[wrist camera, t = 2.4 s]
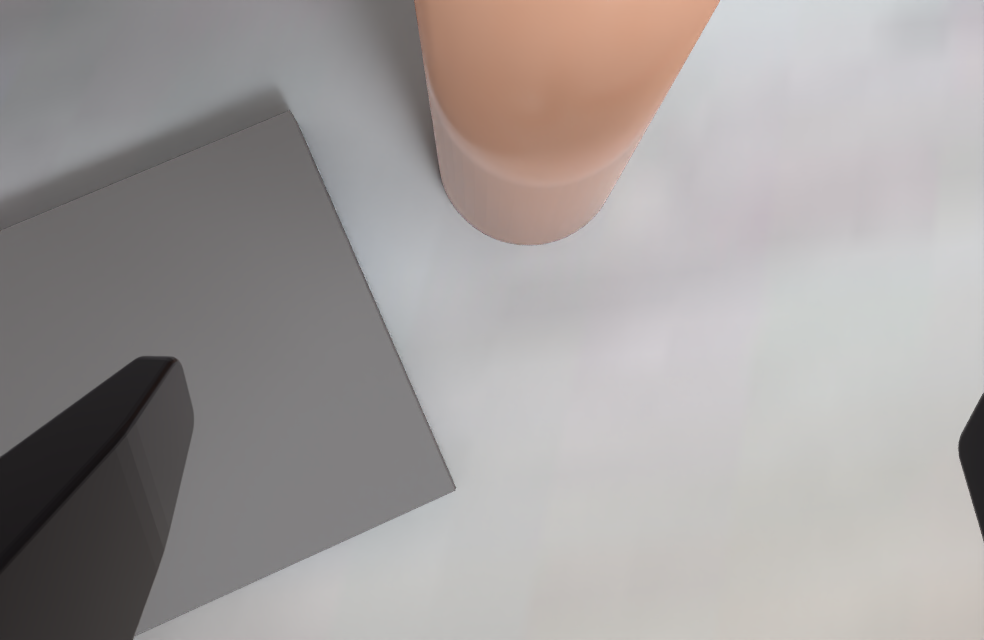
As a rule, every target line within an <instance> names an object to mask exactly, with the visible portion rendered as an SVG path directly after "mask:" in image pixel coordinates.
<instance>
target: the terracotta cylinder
mask: <svg viewBox="0 0 984 640" xmlns="http://www.w3.org/2000/svg"><path fill="white" fill-rule="evenodd" d="M719 2H720V0H414V3H415V9H416V16H417V23H418V29H419V36H420V43H421V50H422V56H423V63H424V70H425V77H426V83H427V90H428V97H429V103H430V110H431V117H432V124H433V130H434V137H435V144H436V151H437V157H438V164H439V171H440V175H441V180H442V183H443V186H444V189H445V191H446V194H447V196H448V197H449V199H450V201H451V203H452V204H453V206H454V207H455V209H456V210H457V211H458V213H459V214H460V215H461V216H462V217H463V218H464V219H465V220H466V221H467V222H468V223H469V224H471V225H472V226H473V227H474V228H476V229H477V230H479V231H481V232H482V233H484V234H485V235H488V236H490V237H492V238H494V239H497V240H500V241H503V242H506V243H512V244H517V245H539V244H546V243H550V242H555V241H557V240H560V239H563V238H565V237H567V236H569V235H571V234H573V233H575V232H577V231H578V230H579V229H581V228H582V227H584V226H585V225H586V224H587V223H588V222H589V221H591V220H592V219H593V218H594V217H595V215H596V214H597V213H598V212H599V211H600V209H601V208H602V206H603V205H604V203H605V202H606V200H607V198H608V196H609V195H610V193H611V191H612V189H613V188H614V186H615V184H616V182H617V181H618V179H619V177H620V175H621V174H622V172H623V170H624V168H625V167H626V165H627V163H628V161H629V160H630V158H631V156H632V154H633V153H634V151H635V149H636V147H637V146H638V144H639V142H640V140H641V139H642V137H643V135H644V133H645V131H646V130H647V128H648V126H649V124H650V123H651V121H652V119H653V117H654V116H655V114H656V112H657V110H658V109H659V107H660V105H661V103H662V102H663V100H664V98H665V96H666V95H667V93H668V91H669V89H670V88H671V86H672V84H673V82H674V81H675V79H676V77H677V75H678V74H679V72H680V70H681V68H682V67H683V65H684V63H685V61H686V59H687V58H688V56H689V54H690V52H691V51H692V49H693V47H694V45H695V44H696V42H697V40H698V38H699V37H700V35H701V33H702V31H703V30H704V28H705V26H706V24H707V23H708V21H709V19H710V17H711V16H712V14H713V12H714V10H715V9H716V7H717V5H718V3H719Z"/></svg>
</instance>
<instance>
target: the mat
mask: <svg viewBox="0 0 984 640" xmlns="http://www.w3.org/2000/svg"><path fill="white" fill-rule="evenodd" d="M140 356H172V357H175V358H177V359H178V360H179V361H180V363H181V364H182V367H183V370H184V374H185V378H186V382H187V386H188V390H189V394H190V398H191V402H192V406H193V410H194V428H193V434H192V438H191V442H190V447H189V451H188V455H187V459H186V464H185V468H184V472H183V477H182V481H181V485H180V489H179V494H178V498H177V502H176V507H175V511H174V515H173V519H172V524H171V528H170V532H169V536H168V540H167V544H166V548H165V551H164V554H163V557H162V560H161V563H160V566H159V569H158V572H157V575H156V578H155V581H154V583H153V586H152V589H151V592H150V594H149V597H148V600H147V603H146V605H145V608H144V611H143V614H142V616H141V619H140V622H139V625H138V627H137V630H136V633H135V636H136V635H138V634H141V633H143V632H145V631H147V630H149V629H152V628H154V627H156V626H158V625H160V624H163V623H165V622H167V621H169V620H171V619H174V618H176V617H178V616H180V615H182V614H185V613H187V612H189V611H191V610H193V609H196V608H198V607H200V606H202V605H204V604H207V603H209V602H211V601H213V600H215V599H218V598H220V597H222V596H224V595H226V594H229V593H231V592H233V591H235V590H237V589H240V588H242V587H244V586H246V585H248V584H251V583H253V582H255V581H257V580H259V579H262V578H264V577H266V576H268V575H270V574H273V573H275V572H277V571H279V570H281V569H284V568H286V567H288V566H290V565H292V564H295V563H297V562H299V561H301V560H303V559H306V558H308V557H310V556H312V555H314V554H317V553H319V552H321V551H323V550H325V549H328V548H330V547H332V546H334V545H336V544H339V543H341V542H343V541H345V540H347V539H350V538H352V537H354V536H356V535H358V534H361V533H363V532H365V531H367V530H369V529H372V528H374V527H376V526H378V525H380V524H383V523H385V522H387V521H389V520H391V519H394V518H396V517H398V516H400V515H402V514H405V513H407V512H409V511H411V510H413V509H416V508H418V507H420V506H422V505H424V504H427V503H429V502H431V501H433V500H435V499H438V498H440V497H442V496H444V495H446V494H449V493H451V492H453V491H455V489H456V487H455V484H454V482H453V480H452V477H451V475H450V473H449V471H448V468H447V466H446V464H445V461H444V459H443V457H442V454H441V452H440V450H439V448H438V445H437V443H436V441H435V438H434V436H433V434H432V431H431V429H430V427H429V425H428V422H427V420H426V418H425V415H424V413H423V411H422V408H421V406H420V404H419V402H418V399H417V397H416V395H415V392H414V390H413V388H412V385H411V383H410V381H409V379H408V376H407V374H406V372H405V369H404V367H403V365H402V362H401V360H400V358H399V355H398V353H397V351H396V349H395V346H394V344H393V342H392V339H391V337H390V335H389V332H388V330H387V328H386V326H385V323H384V321H383V319H382V316H381V314H380V312H379V309H378V307H377V305H376V303H375V300H374V298H373V296H372V293H371V291H370V289H369V286H368V284H367V282H366V280H365V277H364V275H363V273H362V270H361V268H360V266H359V263H358V261H357V259H356V257H355V254H354V252H353V250H352V247H351V245H350V243H349V240H348V238H347V236H346V233H345V231H344V229H343V227H342V224H341V222H340V220H339V217H338V215H337V213H336V210H335V208H334V206H333V204H332V201H331V199H330V197H329V194H328V192H327V190H326V187H325V185H324V183H323V181H322V178H321V176H320V174H319V171H318V169H317V167H316V164H315V162H314V160H313V158H312V155H311V153H310V151H309V148H308V146H307V144H306V141H305V139H304V137H303V135H302V132H301V130H300V128H299V125H298V123H297V121H296V120H295V118H294V116H293V115H292V113H291V111H290V110H289V111H287V112H284V113H282V114H279V115H277V116H275V117H272V118H270V119H267V120H265V121H263V122H260V123H258V124H255V125H253V126H250V127H248V128H246V129H243V130H241V131H238V132H236V133H234V134H231V135H229V136H226V137H224V138H222V139H219V140H217V141H214V142H212V143H210V144H207V145H205V146H202V147H200V148H198V149H195V150H193V151H190V152H188V153H186V154H183V155H181V156H178V157H176V158H174V159H171V160H169V161H166V162H164V163H161V164H159V165H157V166H154V167H152V168H149V169H147V170H145V171H142V172H140V173H137V174H135V175H133V176H130V177H128V178H125V179H123V180H121V181H118V182H116V183H113V184H111V185H109V186H106V187H104V188H101V189H99V190H97V191H94V192H92V193H89V194H87V195H84V196H82V197H80V198H77V199H75V200H72V201H70V202H68V203H65V204H63V205H60V206H58V207H56V208H53V209H51V210H48V211H46V212H44V213H41V214H39V215H36V216H34V217H32V218H29V219H27V220H24V221H22V222H20V223H17V224H15V225H12V226H10V227H8V228H5V229H3V230H0V456H2V455H3V454H5V453H6V452H7V451H9V450H10V449H11V448H13V447H14V446H16V445H17V444H18V443H20V442H21V441H22V440H24V439H25V438H27V437H28V436H29V435H31V434H32V433H33V432H35V431H36V430H38V429H39V428H40V427H42V426H43V425H45V424H46V423H47V422H49V421H50V420H51V419H53V418H54V417H56V416H57V415H58V414H60V413H61V412H62V411H64V410H65V409H67V408H68V407H69V406H71V405H72V404H73V403H75V402H76V401H78V400H79V399H80V398H82V397H83V396H84V395H86V394H87V393H89V392H90V391H91V390H93V389H94V388H95V387H97V386H98V385H100V384H101V383H102V382H104V381H105V380H107V379H108V378H109V377H111V376H112V375H113V374H115V373H116V372H118V371H119V370H120V369H122V368H123V367H124V366H126V365H127V364H129V363H130V362H131V361H133V360H134V359H136V358H138V357H140Z"/></svg>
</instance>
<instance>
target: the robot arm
mask: <svg viewBox="0 0 984 640" xmlns="http://www.w3.org/2000/svg"><path fill="white" fill-rule="evenodd" d="M193 428H194V410H193V406H192V402H191V398H190V394H189V390H188V386H187V382H186V378H185V374H184V370H183V367H182V364H181V363H180V361H179V360H178V359H177V358H175V357H172V356H140V357H138V358H136V359H134V360H133V361H131V362H130V363H129V364H127V365H126V366H124V367H123V368H122V369H120V370H119V371H118V372H116V373H115V374H113V375H112V376H111V377H109V378H108V379H107V380H105V381H104V382H102V383H101V384H100V385H98V386H97V387H95V388H94V389H93V390H91V391H90V392H89V393H87V394H86V395H84V396H83V397H82V398H80V399H79V400H78V401H76V402H75V403H73V404H72V405H71V406H69V407H68V408H67V409H65V410H64V411H62V412H61V413H60V414H58V415H57V416H56V417H54V418H53V419H51V420H50V421H49V422H47V423H46V424H45V425H43V426H42V427H40V428H39V429H38V430H36V431H35V432H33V433H32V434H31V435H29V436H28V437H27V438H25V439H24V440H22V441H21V442H20V443H18V444H17V445H16V446H14V447H13V448H11V449H10V450H9V451H7V452H6V453H5V454H3V455H2V456H0V640H133V638H134V636H135V633H136V630H137V627H138V625H139V622H140V619H141V616H142V614H143V611H144V608H145V605H146V603H147V600H148V597H149V594H150V592H151V589H152V586H153V583H154V581H155V578H156V575H157V572H158V569H159V566H160V563H161V560H162V557H163V554H164V551H165V548H166V544H167V540H168V536H169V532H170V528H171V524H172V519H173V515H174V511H175V507H176V502H177V498H178V494H179V489H180V485H181V481H182V477H183V472H184V468H185V464H186V459H187V455H188V451H189V447H190V442H191V438H192V434H193ZM958 450H959V458H960V462H961V465H962V469H963V472H964V476H965V479H966V482H967V486H968V489H969V493H970V496H971V499H972V503H973V506H974V510H975V513H976V517H977V520H978V523H979V527H980V530H981V534H982V537H983V541H984V393H983V394H982V396H981V398H980V400H979V402H978V404H977V405H976V407H975V409H974V411H973V413H972V415H971V417H970V419H969V420H968V422H967V424H966V426H965V428H964V430H963V432H962V434H961V436H960V440H959V447H958Z"/></svg>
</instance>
